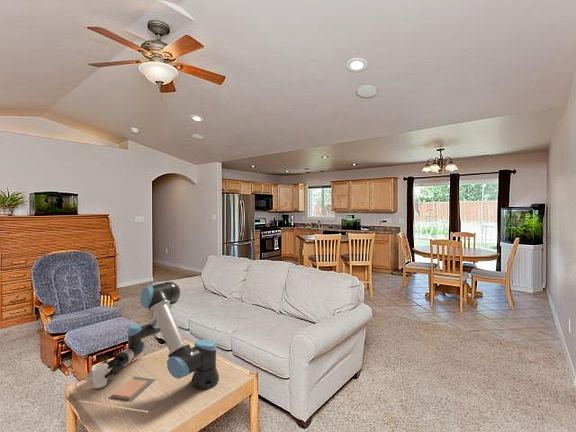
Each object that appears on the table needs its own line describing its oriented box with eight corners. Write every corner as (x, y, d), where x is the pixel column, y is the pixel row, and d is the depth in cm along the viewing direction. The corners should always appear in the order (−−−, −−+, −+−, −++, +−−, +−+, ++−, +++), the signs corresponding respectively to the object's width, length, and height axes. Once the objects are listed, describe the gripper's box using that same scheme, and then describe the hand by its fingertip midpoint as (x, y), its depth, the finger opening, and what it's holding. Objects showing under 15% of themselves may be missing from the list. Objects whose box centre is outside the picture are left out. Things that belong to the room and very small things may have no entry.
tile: (147, 381, 169) (129, 396, 155) (147, 384, 169) (129, 400, 155) (131, 378, 171) (112, 394, 157) (131, 381, 171) (112, 397, 157)
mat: (156, 380, 173) (156, 379, 173) (131, 402, 154) (131, 401, 154) (134, 377, 176) (134, 376, 176) (107, 399, 156) (107, 398, 156)
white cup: (103, 389, 162) (103, 370, 162) (88, 389, 162) (88, 371, 162) (111, 380, 170) (111, 363, 170) (96, 380, 170) (96, 363, 169)
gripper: (138, 365, 182) (109, 388, 159) (109, 362, 186) (76, 383, 163) (138, 353, 181) (109, 374, 159) (108, 350, 185) (76, 370, 163)
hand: (92, 379), depth 161 cm, fingers closed on white cup, 7 cm apart
